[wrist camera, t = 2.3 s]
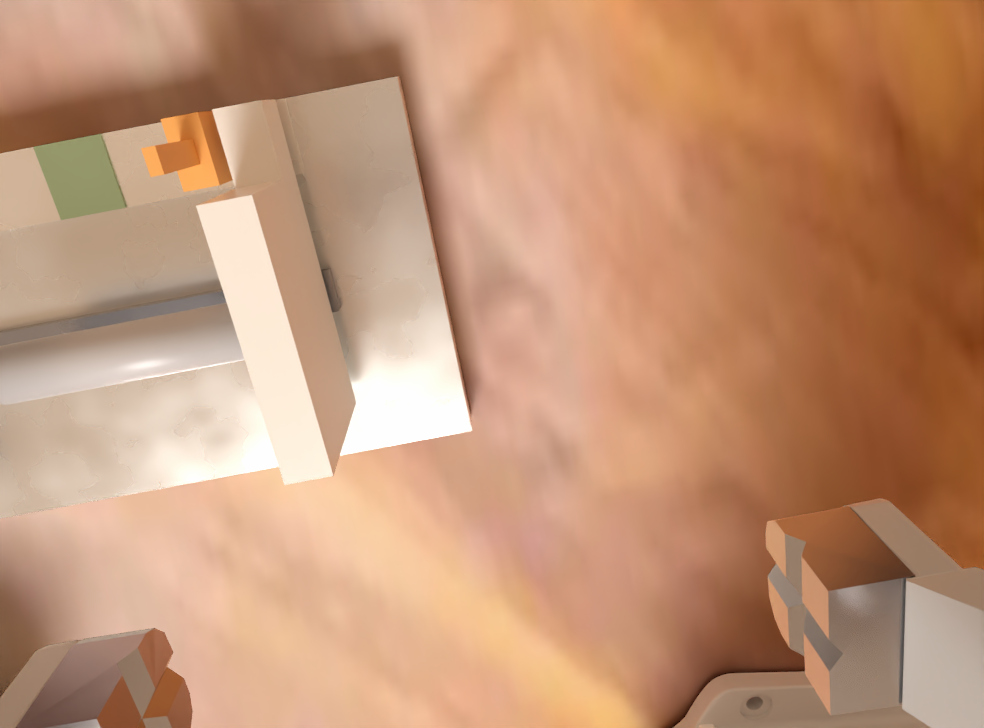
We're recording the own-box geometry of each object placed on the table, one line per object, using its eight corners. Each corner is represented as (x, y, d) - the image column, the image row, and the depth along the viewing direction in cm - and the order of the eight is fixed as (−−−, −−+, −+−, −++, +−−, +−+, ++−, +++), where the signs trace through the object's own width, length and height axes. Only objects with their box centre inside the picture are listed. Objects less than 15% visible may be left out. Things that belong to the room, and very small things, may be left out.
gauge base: (400, 77, 28) (380, 71, 20) (470, 416, 32) (476, 513, 25) (-330, 219, 28) (-615, 265, 21) (-152, 532, 33) (-331, 662, 25)
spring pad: (275, 99, 26) (224, 100, 20) (356, 402, 29) (333, 476, 24) (-32, 159, 26) (-168, 177, 20) (90, 452, 30) (5, 536, 24)
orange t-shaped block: (219, 110, 26) (159, 114, 20) (239, 177, 27) (186, 198, 21) (185, 116, 26) (117, 123, 21) (206, 183, 27) (145, 206, 21)
